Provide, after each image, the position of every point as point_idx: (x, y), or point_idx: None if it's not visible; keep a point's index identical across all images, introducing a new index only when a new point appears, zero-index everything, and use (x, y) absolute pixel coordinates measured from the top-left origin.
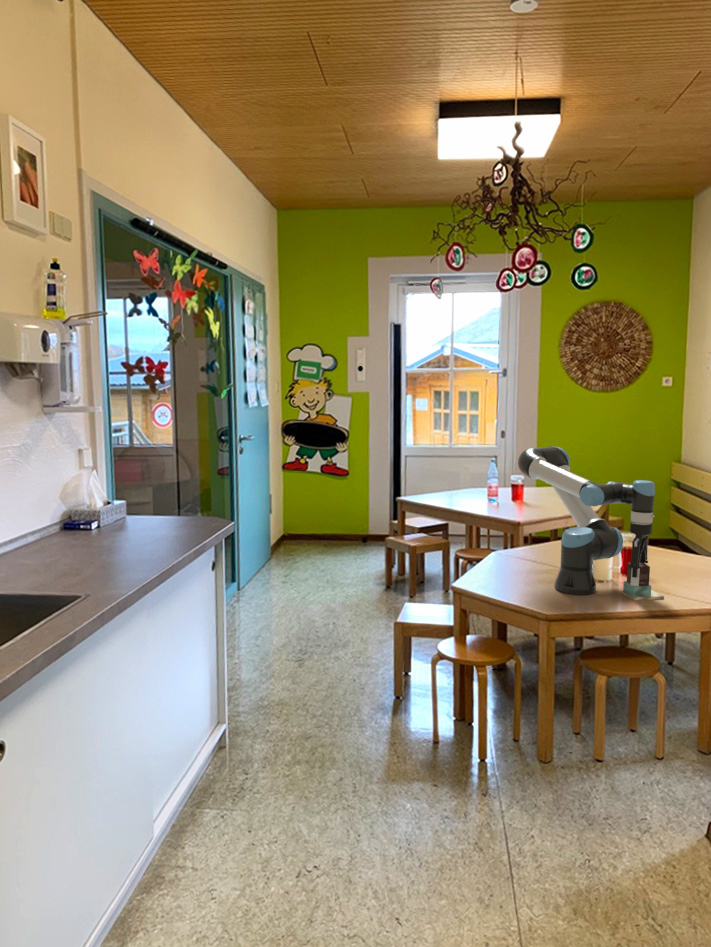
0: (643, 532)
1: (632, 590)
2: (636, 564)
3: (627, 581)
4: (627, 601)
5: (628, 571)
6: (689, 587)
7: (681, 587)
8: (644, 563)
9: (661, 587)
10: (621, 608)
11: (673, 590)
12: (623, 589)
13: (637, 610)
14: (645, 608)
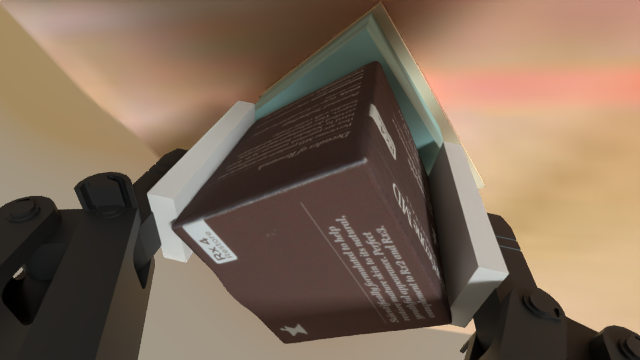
0: None
1: (261, 100)
2: (11, 290)
3: (361, 67)
4: (220, 55)
5: (332, 114)
6: (624, 323)
7: (622, 300)
8: (395, 328)
9: (616, 228)
10: (68, 32)
11: (552, 267)
12: (365, 17)
13: (109, 113)
14: (168, 146)
